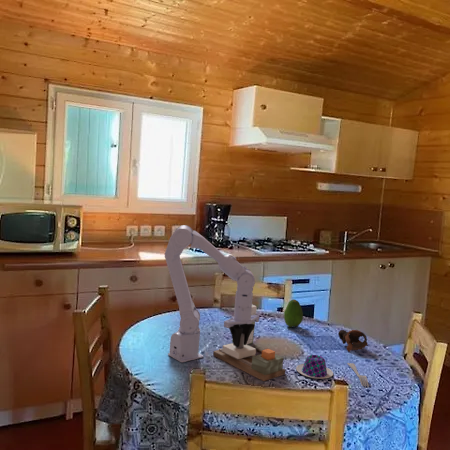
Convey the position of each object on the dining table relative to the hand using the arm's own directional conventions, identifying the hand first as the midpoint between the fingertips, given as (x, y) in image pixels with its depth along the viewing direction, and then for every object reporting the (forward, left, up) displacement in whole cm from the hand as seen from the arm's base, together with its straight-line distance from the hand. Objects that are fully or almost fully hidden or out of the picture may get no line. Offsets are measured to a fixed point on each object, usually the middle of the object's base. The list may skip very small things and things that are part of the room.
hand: (239, 345), depth 166 cm
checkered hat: (+15, -20, -6) cm, 26 cm away
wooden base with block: (0, -5, -5) cm, 7 cm away
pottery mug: (+46, -14, -6) cm, 49 cm away
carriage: (0, 0, -3) cm, 3 cm away
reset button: (0, -13, -1) cm, 13 cm away
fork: (+26, -30, -6) cm, 40 cm away
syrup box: (+13, +11, -5) cm, 18 cm away
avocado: (+45, +14, -5) cm, 48 cm away
